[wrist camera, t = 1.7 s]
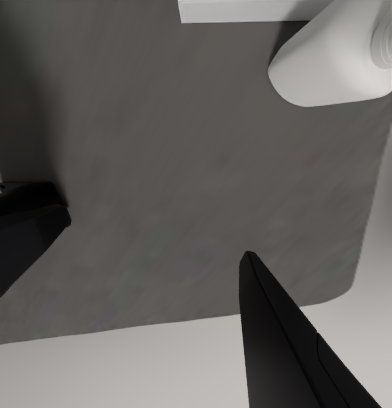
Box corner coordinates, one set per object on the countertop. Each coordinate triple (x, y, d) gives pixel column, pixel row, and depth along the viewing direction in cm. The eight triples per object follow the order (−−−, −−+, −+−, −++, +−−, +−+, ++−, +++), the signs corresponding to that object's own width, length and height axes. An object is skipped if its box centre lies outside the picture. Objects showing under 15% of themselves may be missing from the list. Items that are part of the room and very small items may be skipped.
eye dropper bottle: (314, 24, 13) (832, -400, 2) (325, 96, 15) (615, 44, 5) (262, 59, 14) (459, -126, 3) (279, 121, 16) (432, 126, 6)
